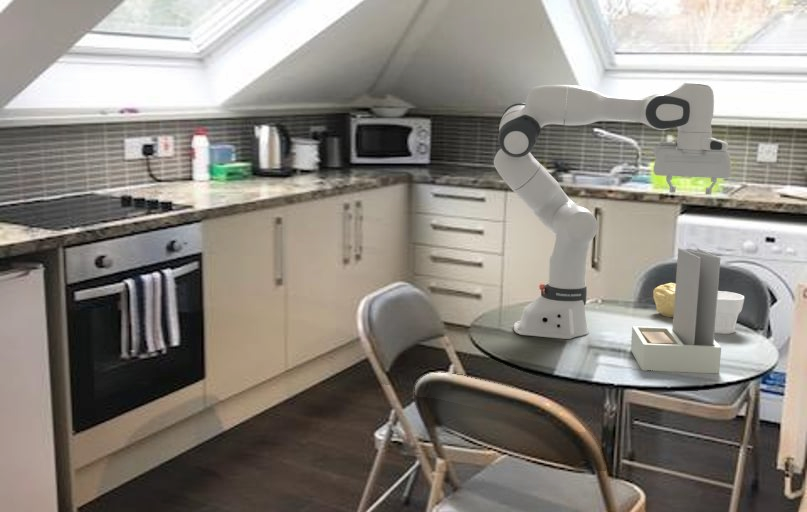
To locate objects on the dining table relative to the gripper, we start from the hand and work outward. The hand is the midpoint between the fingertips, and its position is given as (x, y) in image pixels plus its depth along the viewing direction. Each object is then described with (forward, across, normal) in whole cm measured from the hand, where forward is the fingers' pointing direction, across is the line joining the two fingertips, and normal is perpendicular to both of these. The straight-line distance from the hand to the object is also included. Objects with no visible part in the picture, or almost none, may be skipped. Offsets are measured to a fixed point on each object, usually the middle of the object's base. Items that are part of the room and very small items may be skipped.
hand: (690, 193), depth 238 cm
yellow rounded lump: (+44, -5, +40) cm, 60 cm away
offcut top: (+41, -5, -14) cm, 44 cm away
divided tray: (+44, 0, -13) cm, 46 cm away
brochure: (+45, +4, -12) cm, 46 cm away
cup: (+44, +10, +27) cm, 53 cm away
